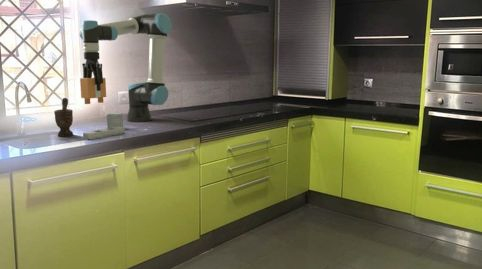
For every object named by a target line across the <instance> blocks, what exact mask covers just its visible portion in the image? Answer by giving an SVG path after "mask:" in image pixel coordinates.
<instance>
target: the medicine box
mask: <svg viewBox="0 0 482 269" xmlns="http://www.w3.org/2000/svg"><path fill="white" fill-rule="evenodd" d="M123 117H124V116H123V112H110V113H109V112H108V113H107V114H106V125H107V126H106V128H113V127H124V118H123Z"/></svg>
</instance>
